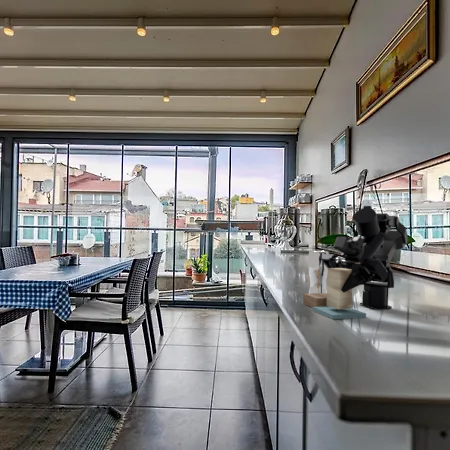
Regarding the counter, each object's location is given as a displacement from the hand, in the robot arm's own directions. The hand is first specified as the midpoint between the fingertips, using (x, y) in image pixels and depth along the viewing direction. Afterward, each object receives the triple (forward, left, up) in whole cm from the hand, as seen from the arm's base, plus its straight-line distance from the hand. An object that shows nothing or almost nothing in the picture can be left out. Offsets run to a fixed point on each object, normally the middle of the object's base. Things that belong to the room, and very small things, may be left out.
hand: (335, 289), depth 91 cm
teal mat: (-1, 0, -6) cm, 7 cm away
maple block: (-1, 0, -5) cm, 5 cm away
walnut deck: (-2, -10, -6) cm, 12 cm away
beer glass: (-11, -26, -7) cm, 29 cm away
